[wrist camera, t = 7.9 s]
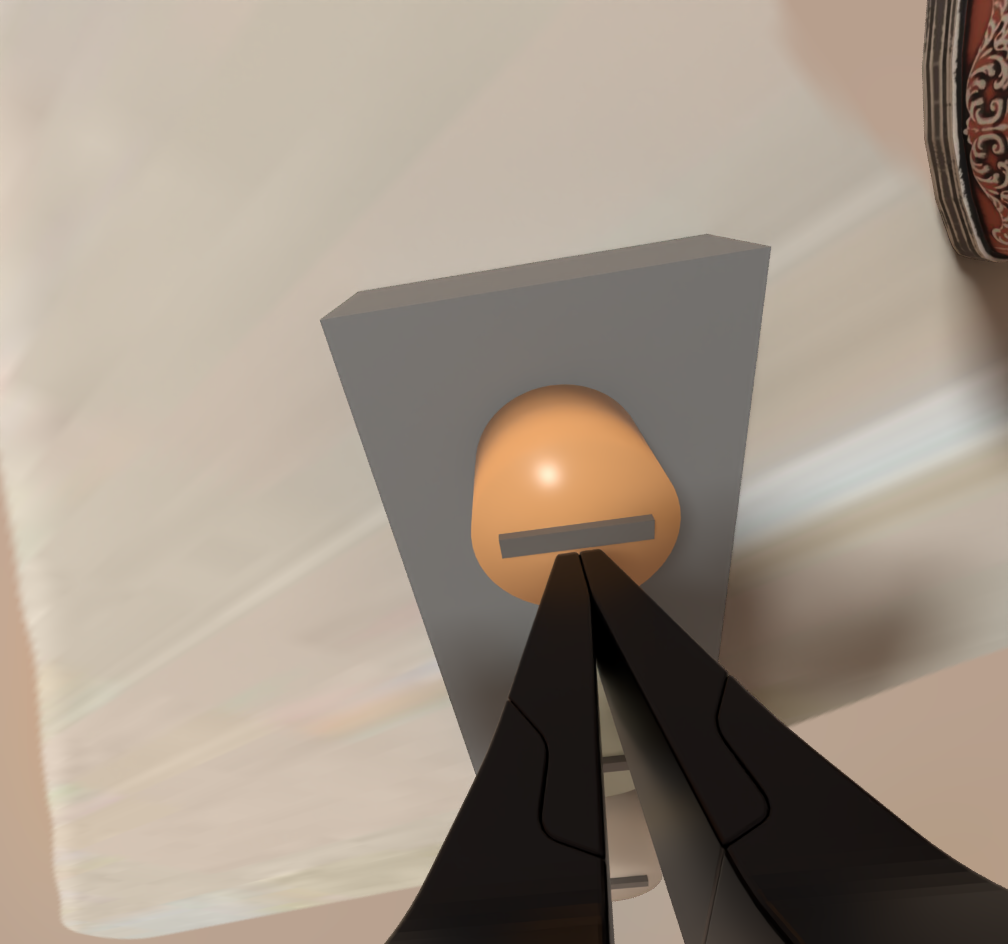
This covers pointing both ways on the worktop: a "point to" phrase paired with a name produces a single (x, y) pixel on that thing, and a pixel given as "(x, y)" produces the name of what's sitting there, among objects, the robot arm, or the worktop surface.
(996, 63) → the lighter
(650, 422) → the knob mount
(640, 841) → the knob
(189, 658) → the worktop surface
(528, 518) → the knob
